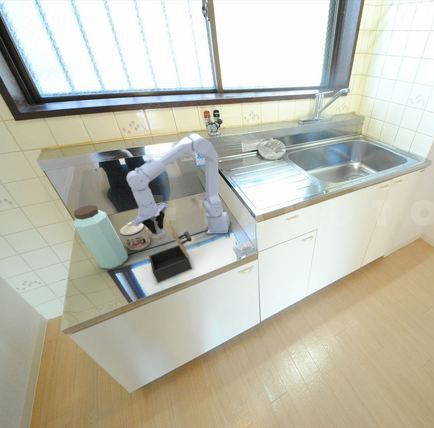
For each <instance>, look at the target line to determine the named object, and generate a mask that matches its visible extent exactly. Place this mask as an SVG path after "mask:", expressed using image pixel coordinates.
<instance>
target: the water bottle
mask: <svg viewBox="0 0 434 428" xmlns="http://www.w3.org/2000/svg"><path fill="white" fill-rule="evenodd" d="M73 216H74V217H75V218H74V221H73V227H74V229H75V231H76V232H77V233H78V235H79V236H80V238H81V239H82V241H83V242H84V244H85V246H86V247H87V249H88V250H89V252H90V254H91V255H92V256H93V258H94V259H95V262H96V263H97V264H98V265H99V267H100V268H102V269H107V270H114V269H117V268H119V267H121V266H123V264H124V263H125V262H127V261H128V259H129V255H128V251H127V249H126V248H125V246H124V244H123V242H122V240H121V239H120V237H119V235H118V233H117V230H116V229H115V227H114V226H113V225H114V224H113V223H112V221H111V220H110V218H109V216H108V214H107V212H105V211H102V210H100V209H98V207H97V205H94V204H93V205H91V204H88V205H84V206H81V207H79V208H76V209H75V210H74V211H73Z"/></svg>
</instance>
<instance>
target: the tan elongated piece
mask: <svg viewBox="0 0 434 428" xmlns="http://www.w3.org/2000/svg"><path fill="white" fill-rule="evenodd" d="M164 220H165V223H166V225H167V228H168V230H169V233H170V235H171V236H172V237H173V240H174V241H175V242H176V244H177V245H179V247H180V248H181V250H182V251H183V253H184V254H185V256H186V257H187V258H188V259H189V258H190V256H189V254H188V252H187V249H186V247H185V244H186V243H191V242H192V240H193V239H192V236H191V234H190V233H189V231H184V232H183V234H180V235H179V234H178V233H177V231H176V230H175V229H174V227H173V225H172V224H171V222H170V221H169V219H168V218H164ZM182 238H186V239H185V240H183V241H182Z"/></svg>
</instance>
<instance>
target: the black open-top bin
mask: <svg viewBox="0 0 434 428" xmlns="http://www.w3.org/2000/svg"><path fill="white" fill-rule="evenodd" d="M148 258H149V263H150V267H151V271H152V274H153V275H154V278H155V280H156V282H157V283H159V284H160V283H161V282H164V281H166V280H168V279H171V278H173V277H176V276H178V275H180V274H183V273H186V272H187V271H191V270H192V269H193V267H192V265H191V261H190V259H189V257H188V258H187V257H186V256H185V254H184V253H183V251H182V250H181V248H180V247H179V245H178V244H177V245H175V246H172V247H169V248H167V249H163V250H161V251H158V252H155V253H153V254H150V255H148Z"/></svg>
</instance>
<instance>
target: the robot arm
mask: <svg viewBox="0 0 434 428" xmlns="http://www.w3.org/2000/svg"><path fill="white" fill-rule="evenodd" d="M195 154H197V155H198V156H202V157H203V158H204V170H205V171H204V172H205V194H204V195H203V200H202V207H203V208H204V209H205V217H206V221H207V225H208V229H207V231H206V233H207V234H208V235H210V234H211V235H215V234H228V233H229V229H230V225H231V221H230V217H229V212H227V211H224V207H223V205H222V200H221V198H220V196H219V154H218V152H217V151H216V149H215V148H214V146H213V143H212V142H210V141H209V140H208V139H206V138H204V137H202V136H201V135H200V134H199V133H196V132H193V133H192V132H191V133H189V134H188V135H187V136H185V137H183V138H182V139H181V140H180V141H179V142H177V143H176V144H175V145H173V146H172V147H171V148H170V149H169V150H167V151H166V152H165V153H164V154H162V155H161V156H160V157H152V158H151V159H150V158H147V159H146V162H144V164H142V165H140V166H139V167H135V168H134V170H130V171H129V172H128V173H127V175H126V181H127V184H128V186H129V187H130V189H131V192H132V195H133V198H134V199H135V202H136V204H137V207H138V209H139V212H140V214H138V215H137V216H136V217H135V218H134V219H133V220H131V221H130V222H132V224H133V226H136V227H137V226H139V224H140V223H142V224H144V226H145V228H148V229H149V230H148V231H150V233H151V234H152V233H153V234H156V233H157V232H156V229H155V226H154V221H152V220H151V219H150V218H151V217H156V220H155V221H157V222H158V224H157V225H158V227H159V228H160V229H161V230H163V229H164V220H165V216H166V213H165V212H164V211H163V210H166V209H168V208H169V205H168V204H167V203H165V202H162V203H160V204H157V203H156V200H155V198H154V195H153V193H152V190H151V188H150V187H149V184H150V182H152V181H153V180H154V179H156V178H157V177H159V176H160V175H161V174H163V173H164V172H166V167H167V166H168V165H169V164H171V163H173V162H174V161H176V160H177V159H179V158H181V157H182V156H183V155H195Z"/></svg>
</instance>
